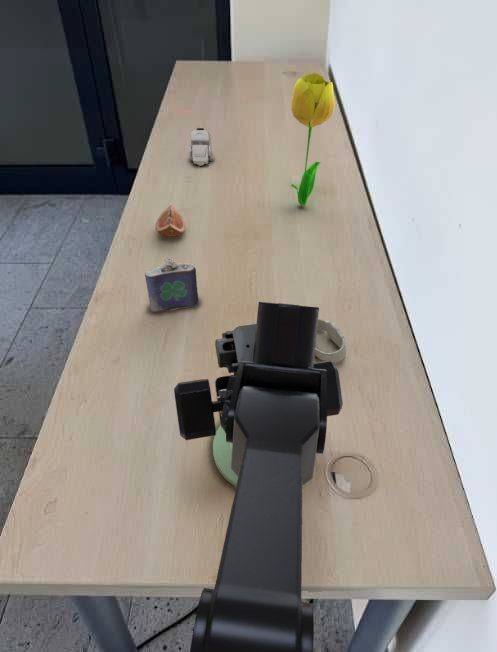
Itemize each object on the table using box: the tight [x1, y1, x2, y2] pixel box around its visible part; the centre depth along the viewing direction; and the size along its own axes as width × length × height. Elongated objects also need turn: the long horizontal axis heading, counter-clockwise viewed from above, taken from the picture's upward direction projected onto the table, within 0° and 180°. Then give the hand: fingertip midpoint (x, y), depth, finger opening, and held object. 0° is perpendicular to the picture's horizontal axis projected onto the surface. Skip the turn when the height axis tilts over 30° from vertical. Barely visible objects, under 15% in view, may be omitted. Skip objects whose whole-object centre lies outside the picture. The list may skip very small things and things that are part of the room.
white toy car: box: [188, 127, 213, 167], centre depth 133 cm, size 6×7×10 cm
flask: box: [144, 257, 199, 314], centre depth 90 cm, size 9×3×11 cm, turn 105°
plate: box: [212, 424, 238, 487], centre depth 71 cm, size 14×14×1 cm
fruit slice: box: [155, 205, 187, 237], centre depth 109 cm, size 8×7×5 cm
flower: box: [290, 72, 336, 209], centre depth 109 cm, size 9×8×30 cm
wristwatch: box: [314, 318, 347, 363], centre depth 84 cm, size 9×6×5 cm
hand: (248, 390), depth 63 cm, fingers closed
